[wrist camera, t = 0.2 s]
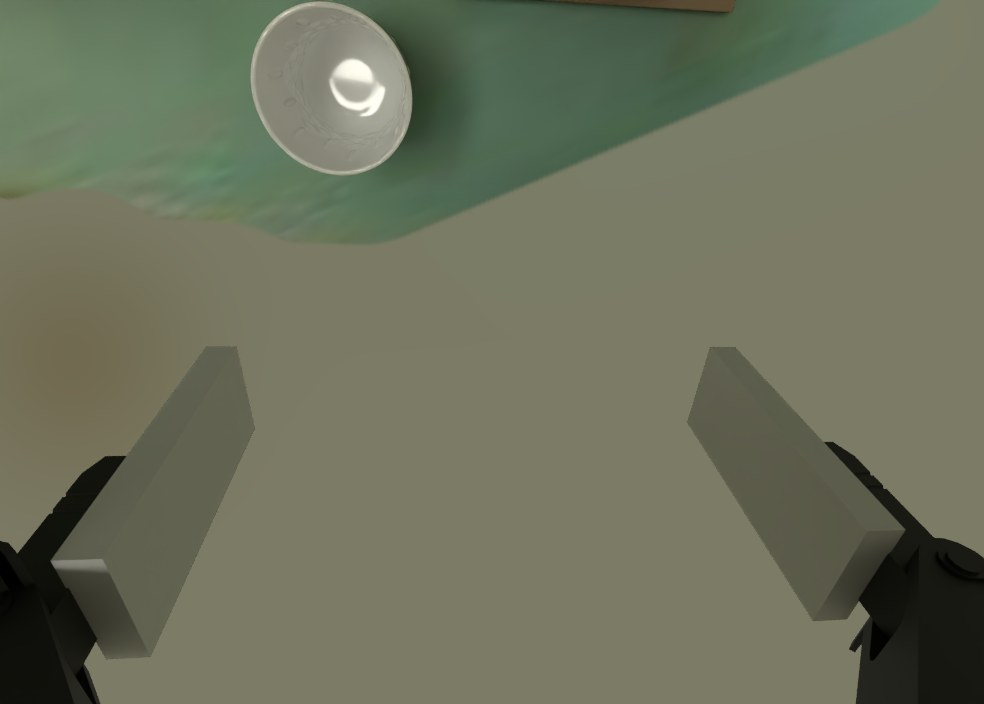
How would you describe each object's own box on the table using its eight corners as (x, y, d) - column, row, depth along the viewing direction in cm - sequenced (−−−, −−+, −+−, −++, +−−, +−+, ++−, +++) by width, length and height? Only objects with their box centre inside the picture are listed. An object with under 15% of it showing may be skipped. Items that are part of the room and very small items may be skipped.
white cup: (436, 46, 35) (435, 51, 26) (394, 161, 38) (382, 198, 30) (315, -17, 33) (272, -35, 24) (282, 111, 36) (234, 136, 27)
